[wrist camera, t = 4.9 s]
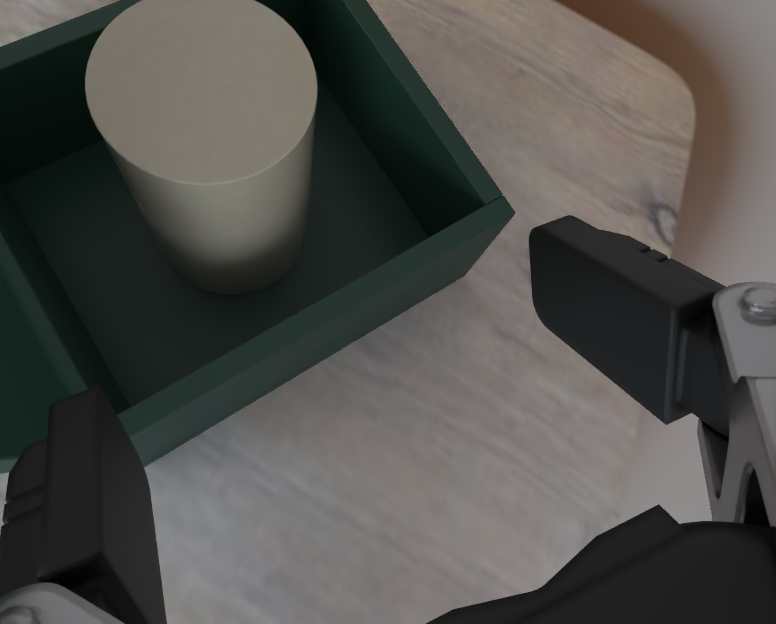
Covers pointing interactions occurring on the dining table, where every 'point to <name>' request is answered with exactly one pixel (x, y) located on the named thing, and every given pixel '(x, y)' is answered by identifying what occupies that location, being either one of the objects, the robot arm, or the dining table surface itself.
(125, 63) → the cream cylinder
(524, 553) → the dining table surface
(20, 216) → the dark green box
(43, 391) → the lid
